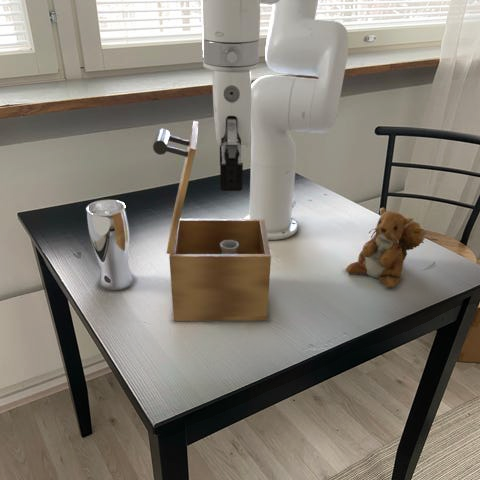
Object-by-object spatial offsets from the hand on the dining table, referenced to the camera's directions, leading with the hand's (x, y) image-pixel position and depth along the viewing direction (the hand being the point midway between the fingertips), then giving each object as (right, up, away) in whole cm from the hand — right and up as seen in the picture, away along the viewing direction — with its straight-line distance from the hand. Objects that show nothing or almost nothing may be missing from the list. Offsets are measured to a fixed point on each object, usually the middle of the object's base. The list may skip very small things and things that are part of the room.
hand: (230, 177), depth 77 cm
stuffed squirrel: (+30, -12, +22) cm, 39 cm away
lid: (-7, -2, 0) cm, 7 cm away
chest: (-2, -18, +13) cm, 22 cm away
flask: (-1, -18, +12) cm, 22 cm away
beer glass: (-22, -15, +17) cm, 31 cm away
